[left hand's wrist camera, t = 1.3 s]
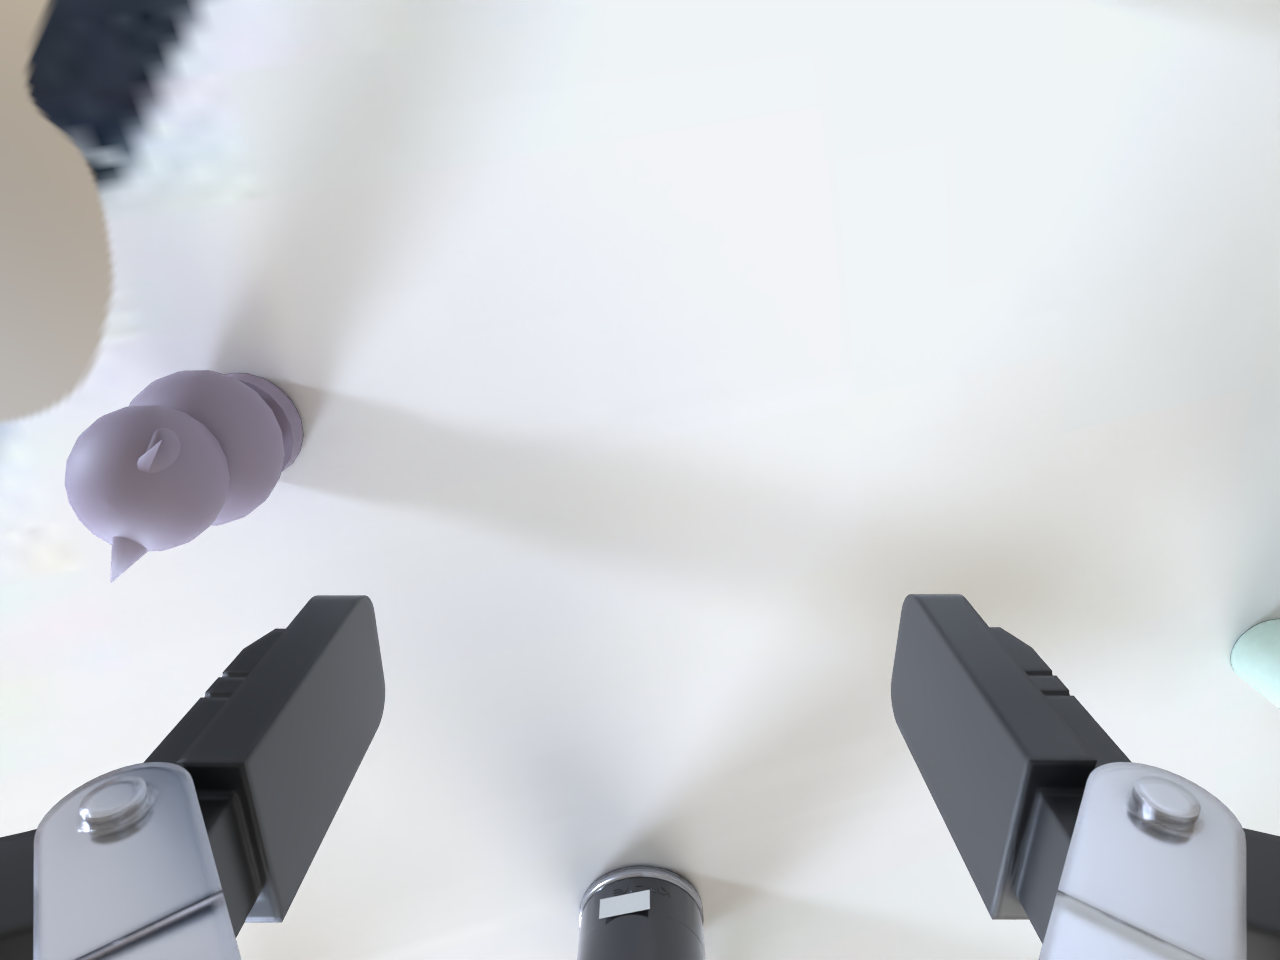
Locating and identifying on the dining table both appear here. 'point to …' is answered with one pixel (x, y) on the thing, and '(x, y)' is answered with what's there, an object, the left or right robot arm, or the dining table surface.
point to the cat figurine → (181, 461)
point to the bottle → (1260, 659)
